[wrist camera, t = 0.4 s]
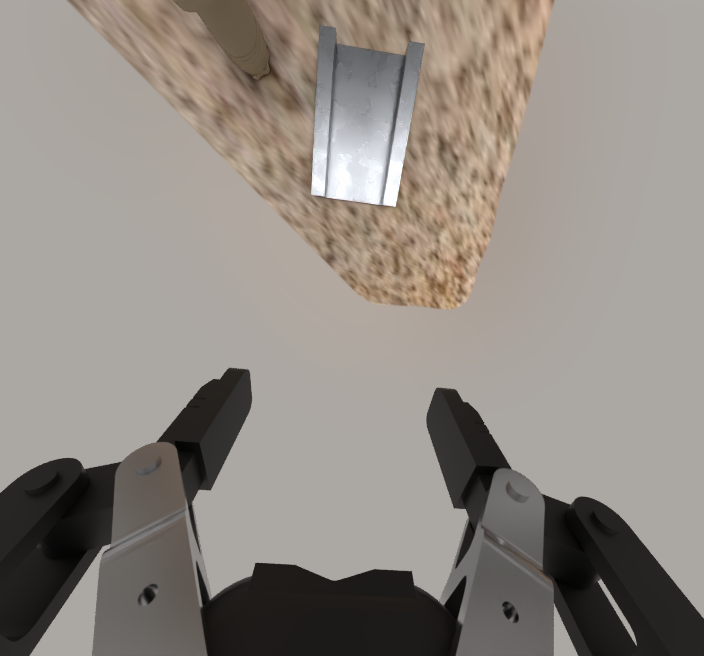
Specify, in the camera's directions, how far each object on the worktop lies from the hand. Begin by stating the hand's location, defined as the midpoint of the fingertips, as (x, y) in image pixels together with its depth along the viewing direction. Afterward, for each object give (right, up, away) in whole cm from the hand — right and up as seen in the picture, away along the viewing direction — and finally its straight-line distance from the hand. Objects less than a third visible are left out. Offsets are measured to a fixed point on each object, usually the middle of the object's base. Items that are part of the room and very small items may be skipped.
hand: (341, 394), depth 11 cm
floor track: (+1, +26, +19) cm, 32 cm away
